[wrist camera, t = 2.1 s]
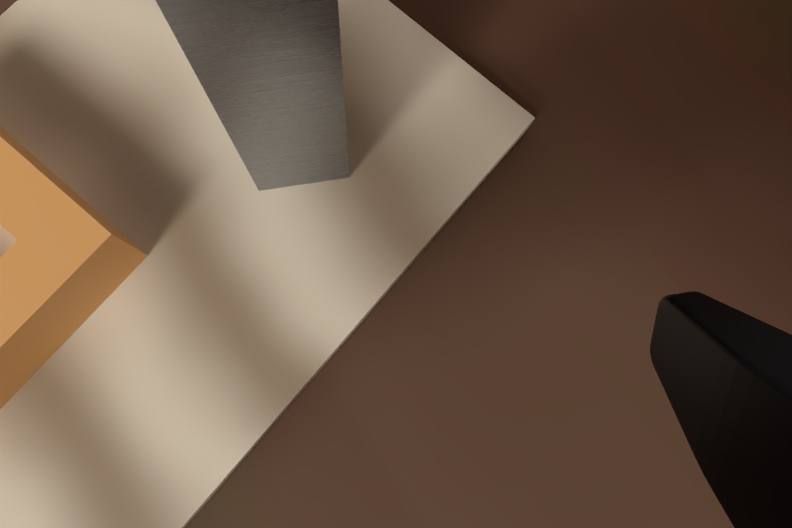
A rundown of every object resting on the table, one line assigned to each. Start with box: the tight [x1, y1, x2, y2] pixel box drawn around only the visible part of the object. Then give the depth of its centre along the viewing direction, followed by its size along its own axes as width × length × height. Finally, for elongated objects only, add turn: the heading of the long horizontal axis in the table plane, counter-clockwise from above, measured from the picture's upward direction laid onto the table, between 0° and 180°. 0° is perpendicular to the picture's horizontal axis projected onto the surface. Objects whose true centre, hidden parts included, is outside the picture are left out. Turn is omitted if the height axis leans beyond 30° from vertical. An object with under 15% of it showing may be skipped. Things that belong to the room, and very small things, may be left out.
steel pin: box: [156, 0, 349, 191], centre depth 15 cm, size 3×3×12 cm
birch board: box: [0, 0, 535, 528], centre depth 21 cm, size 22×16×1 cm
